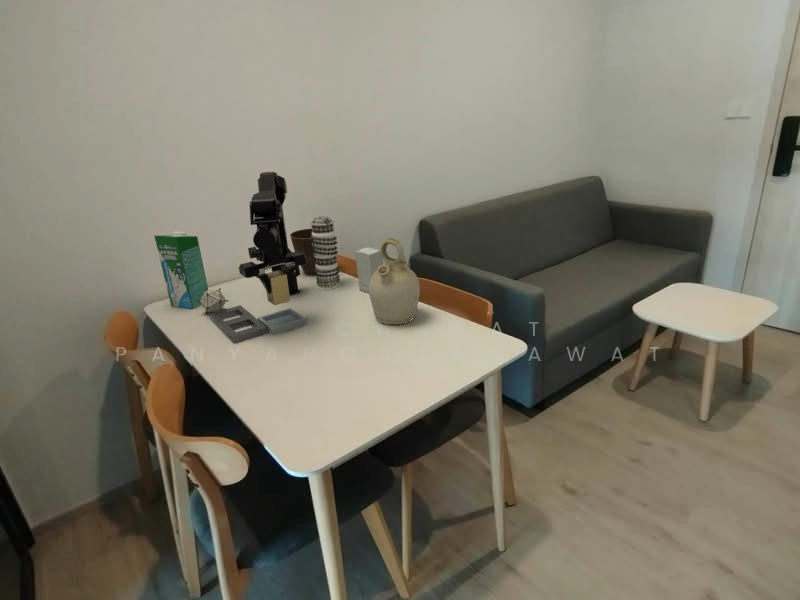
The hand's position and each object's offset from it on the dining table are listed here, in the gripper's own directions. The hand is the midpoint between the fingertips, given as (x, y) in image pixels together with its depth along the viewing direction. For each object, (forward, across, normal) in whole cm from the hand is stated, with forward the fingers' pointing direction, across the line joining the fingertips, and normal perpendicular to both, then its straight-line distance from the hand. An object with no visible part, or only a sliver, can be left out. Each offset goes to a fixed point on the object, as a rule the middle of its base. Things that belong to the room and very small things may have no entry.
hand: (277, 291), depth 145 cm
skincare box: (+11, -36, -5) cm, 38 cm away
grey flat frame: (+11, +11, -8) cm, 17 cm away
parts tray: (+11, 0, 0) cm, 11 cm away
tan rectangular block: (+3, 0, 0) cm, 3 cm away
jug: (+11, -29, +19) cm, 36 cm away
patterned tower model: (+11, -27, -20) cm, 35 cm away
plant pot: (+11, -30, -37) cm, 49 cm away
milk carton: (+11, +17, -38) cm, 43 cm away
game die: (+11, +13, -24) cm, 29 cm away
